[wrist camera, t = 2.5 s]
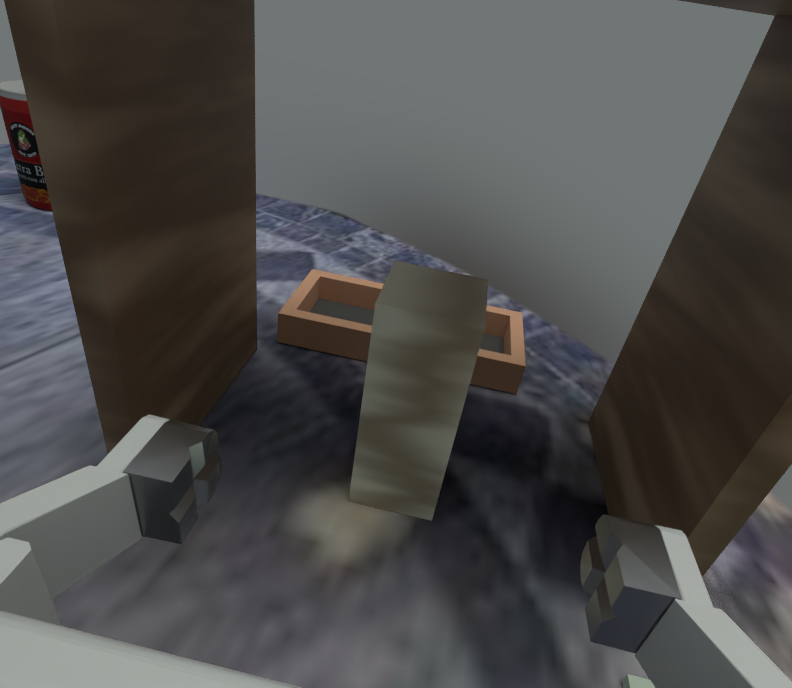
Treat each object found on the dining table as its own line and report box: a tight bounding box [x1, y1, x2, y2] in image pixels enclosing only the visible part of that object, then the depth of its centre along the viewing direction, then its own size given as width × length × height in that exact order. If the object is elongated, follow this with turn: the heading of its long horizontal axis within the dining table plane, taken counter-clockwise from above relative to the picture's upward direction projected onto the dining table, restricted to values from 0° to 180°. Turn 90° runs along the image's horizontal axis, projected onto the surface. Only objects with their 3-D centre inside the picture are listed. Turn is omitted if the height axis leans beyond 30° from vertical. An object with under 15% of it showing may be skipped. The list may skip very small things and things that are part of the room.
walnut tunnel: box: [4, 0, 792, 576], centre depth 24 cm, size 27×14×26 cm, turn 80°
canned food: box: [0, 80, 52, 211], centre depth 52 cm, size 8×8×11 cm
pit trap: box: [278, 269, 526, 394], centre depth 41 cm, size 18×8×2 cm, turn 80°
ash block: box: [349, 261, 488, 521], centre depth 26 cm, size 4×4×12 cm
